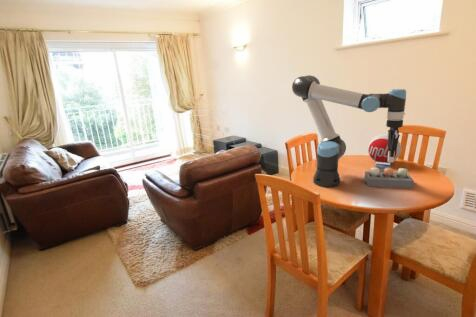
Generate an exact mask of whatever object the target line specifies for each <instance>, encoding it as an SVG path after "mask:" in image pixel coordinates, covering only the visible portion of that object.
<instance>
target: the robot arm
mask: <svg viewBox="0 0 476 317" xmlns="http://www.w3.org/2000/svg"><path fill="white" fill-rule="evenodd" d="M291 88H292V89H291V90H292V93H293V94H294V95H295V96H296V97H299V98H301V99H302V102H304V103H306V105H307V107H308V110H309V112H310V114H311V116H312V119H313V120H314V123H315V126H316V128H317V130H318V133H319V136H320V137H321V139H320V143H319V144H317V149H316V169H315V173H314V176H313V177H312V182H313V183H314V184H315V185H317V186H320V187H325V188H326V187H327V188H334V187H338V186H340V185H341V178H340V174H339V170H338V169H339V159H341V158H342V157H343V156H344V155H345V154H346V150H347V145H346V144H347V143H346V142H345V141H344V140H343V139H341V136H340V134H339V133H336V131H335V128H334V125H333V124H332V122H331V119H330V117H329V114H328V112H327V110H326V107H325V104H324V102H323V101H325V102H329V103H335V104H339V105H342V106H347V107H351V108H356V109H360V110H363V111H364V112H366V113H373V112H375V111H377V110H378V109H387V113H386V114H387V116H386V125H385V126H386V127H387V128H389V129H388V130H387V133H388V149H389V150H388V162H390V163H394V162H395V160H394V154H395V151H396V150H397V144H398V141H399V138H400V136H401V135H400V134H399V133H400V130H399V128H403V126H404V116H405V115H406V113H405V108H406V100H407V90H406V89H405V88H396V89H395V88H394V89H393V88H392V89H389V92H388V93H361V92H357V91H351V90H347V89H342V88H338V87H333V86H328V85H324V84H321V82H320V80H319V79H318V78H317V77H316V76H314V75H311V74H310V75H304V76H303V75H301V76H298V77H297V78H295V79H294V80H293V82H292V85H291Z"/></svg>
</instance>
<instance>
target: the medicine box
mask: <svg viewBox="0 0 476 317" xmlns="http://www.w3.org/2000/svg"><path fill="white" fill-rule="evenodd" d="M374 167H376V168H379V169H380V170H379V172H384V169H385V168H391V162H390V163H384V162H376V161H375V166H374Z"/></svg>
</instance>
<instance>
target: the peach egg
mask: <svg viewBox="0 0 476 317" xmlns="http://www.w3.org/2000/svg"><path fill="white" fill-rule="evenodd" d="M393 172H394V169H393V168H392V167H390V168H385V169H384V175H385V177H390V178H391V176H393Z"/></svg>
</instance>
